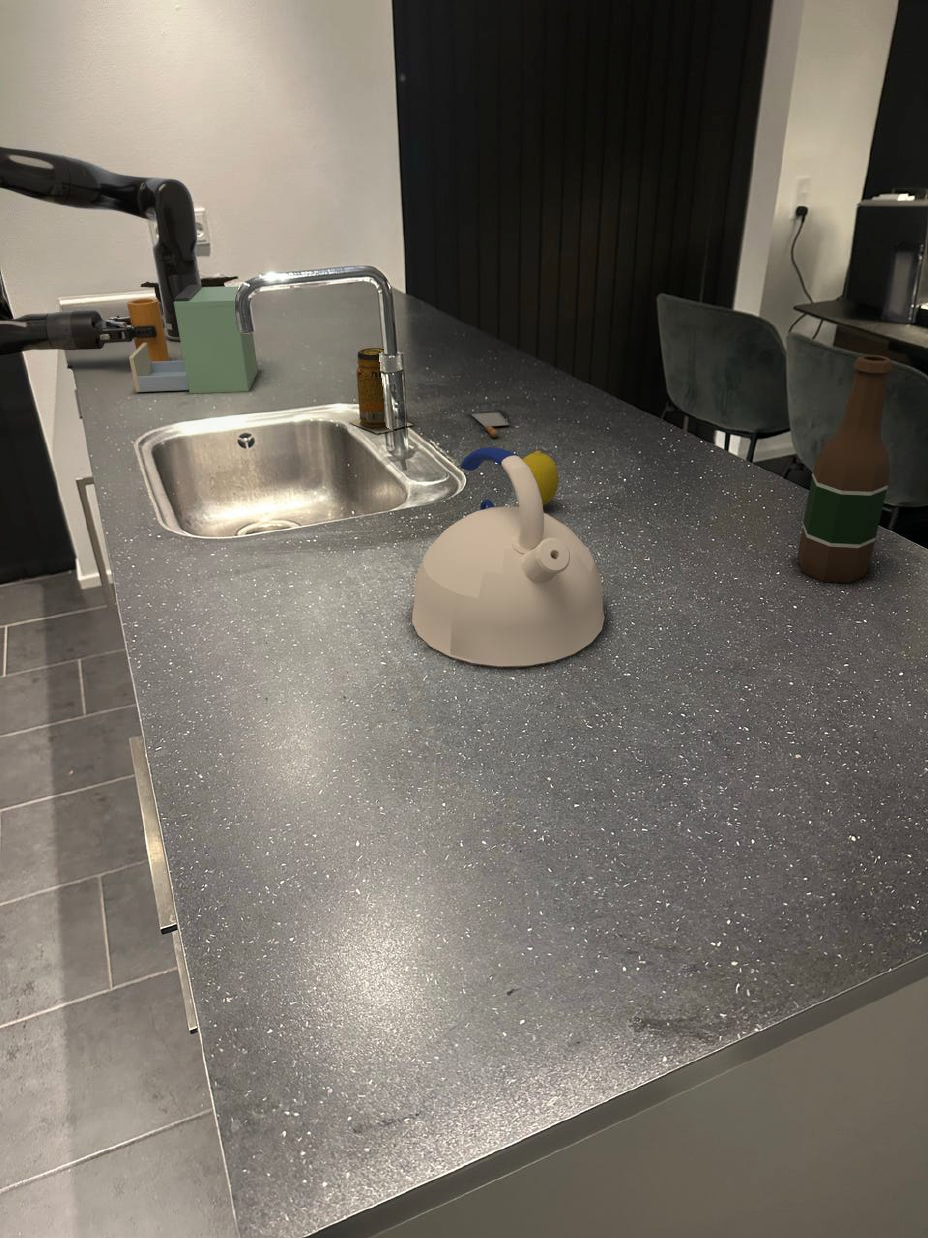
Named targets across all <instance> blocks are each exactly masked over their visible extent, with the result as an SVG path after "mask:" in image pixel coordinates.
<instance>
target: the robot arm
mask: <svg viewBox="0 0 928 1238" xmlns="http://www.w3.org/2000/svg"><path fill="white" fill-rule="evenodd" d="M0 189H2V190H6V191H10V192H13V193H15V194H19V195H22V196H25V197H28V198H31V199H34V200H37V201H40V202H44V203H48V204H52V205H56V206H57V205H58V206H61V207H65V208H66V207H67V208H72V209H77V210H88V211H112V212H120V213H123V214H127V215H130V216H134V217H137V218H140V219H143V220H145V221H149V222H152V223H155V224H156V226H157V235H158V237H157V241H156V242H155V243H154V244H153V245H152V247H151V249H152V256H153V261H154V267H155V272H156V278H157V283H158V284H159V289H160V295H161V300H162V303H161V304H162V311H163V317H164V319H163V318H162V322H163V327H164V329H166V335H167V340H170V341H175V342H176V341H178V342H181V341H180V335H179V330H178V324H177V318H176V313H175V307H174V302H175V298H176V297H177V296H178V295H179V294H180V293H181V292H182V291H183V290H184V289H185V288H186V287H187V286H188V285H201V280H200V278H201V273H200V267H199V262H198V257H197V256H198V255H197V245H198V231H197V230H198V229H197V221H196V212H195V211H196V210H195V206H194V201H193V197H192V194H191V192H190V190H189V188H188V186H187V185H185V183H183V182H182V181H180V180H178V179H175V178H171V177H169V178H168V177H157V176H156V177H155V176H153V177H148V176H147V177H146V176H136V175H135V176H134V175H127V174H121V173H118V172H117V173H116V172H113V171H110V170H108V169H106V168H104V167H102V166H99V165H97V164H95V163H93V162H89V161H88V160H87V161H86V160H84V159H79V158H76V157H72V156H67V155H64V154H63V155H62V154H59V153H52V152H46V151H40V150H32V149H23V148H13V147H5V146H0ZM156 336H157V329H156V326H154V325H150V326H133V325H131V321H130V316H129V315H115V316H112V317H108V319H106V320H104V319H103V318H102V315H101V314H100V313H99V311H97V310H95V309H93V310H91V309H89V310H63V311H62V310H61V311H56V312H42V313H41V312H39V313H28V314H25V315H21V316H20V317H14V314H13V311H12V310H11V306H10V304H9V301H8V300H7V298H6V296H5V293H4V286H3V282H2V277H1V275H0V356H6V355H12V354H13V355H14V354H18V353H23V352H24V353H25V352H29V351H51V350H55V351H56V350H61V351H86V350H87V351H88V350H101V349H103V348H104V346H105V344H115V343H131V342H133V341H134V340H136V339H138V338H152V337H156Z"/></svg>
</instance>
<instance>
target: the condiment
mask: <svg viewBox="0 0 928 1238" xmlns="http://www.w3.org/2000/svg"><path fill="white" fill-rule="evenodd" d="M384 349H385V348H382V347H369V348H368V347H367V348H363V349H360V350H359V351H358V352H357V364H358V366H357V368H356V383H357V385H356V387H357V397H358V398H357V399H358V413H359V419H355V420H351V421H349V424H351V425H354V426H356V427H359V428H362V429H365V430H367V431H369V432H373V433H375V434H382V433H387V432H393V431H394V430H393V429H389V428H387V427H386V425H385V422H384V398H383V386H382V378H381V372H380V362H379V353H381V352H384ZM409 426H413V423H411V422H407V427H409Z"/></svg>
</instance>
